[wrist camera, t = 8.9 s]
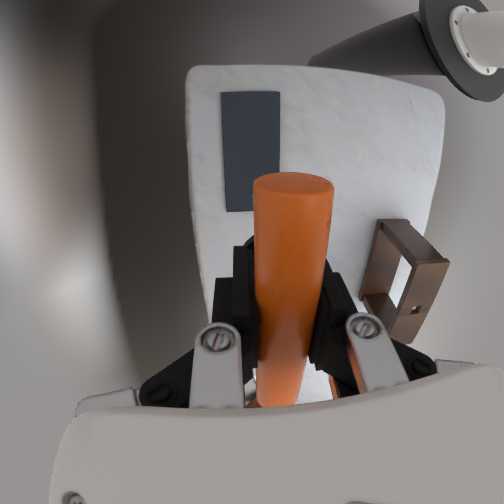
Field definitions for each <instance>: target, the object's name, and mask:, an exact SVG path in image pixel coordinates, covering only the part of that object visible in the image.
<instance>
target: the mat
mask: <svg viewBox="0 0 504 504" xmlns="http://www.w3.org/2000/svg"><path fill="white" fill-rule="evenodd" d="M221 94H222V123H223V147H224V168H225V188H226V206H227V212H239V211H254V207H253V200H252V195H253V183H254V181H255V180H256V179H257V178H258V177H260V176H263V175H267V174H271V173H279V160H280V92H226V93H221Z"/></svg>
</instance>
